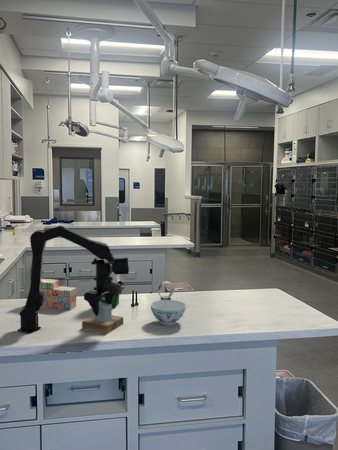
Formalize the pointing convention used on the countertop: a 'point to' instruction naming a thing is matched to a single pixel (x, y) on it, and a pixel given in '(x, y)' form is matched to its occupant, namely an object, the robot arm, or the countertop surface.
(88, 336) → the countertop surface
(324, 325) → the countertop surface
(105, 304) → the grey block
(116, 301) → the milk carton
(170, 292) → the watch
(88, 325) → the walnut base
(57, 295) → the stack of blocks
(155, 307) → the chinaware
